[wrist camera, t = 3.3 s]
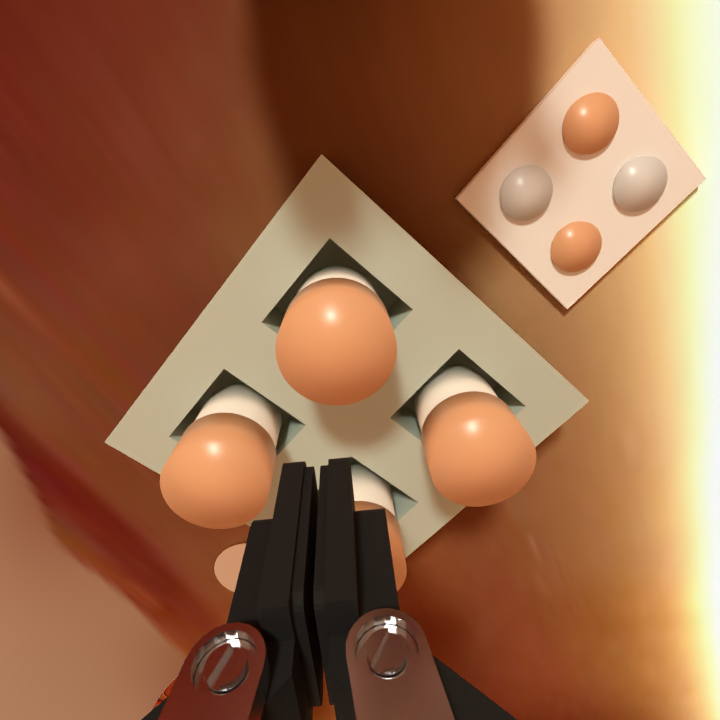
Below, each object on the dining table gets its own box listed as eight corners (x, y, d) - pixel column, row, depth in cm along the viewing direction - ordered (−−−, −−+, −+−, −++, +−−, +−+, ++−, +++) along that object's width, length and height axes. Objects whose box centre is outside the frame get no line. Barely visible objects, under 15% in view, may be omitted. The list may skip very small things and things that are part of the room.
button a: (511, 395, 30) (558, 458, 23) (451, 450, 31) (480, 522, 25) (453, 346, 28) (486, 398, 22) (393, 405, 30) (408, 471, 23)
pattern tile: (698, 178, 28) (709, 178, 27) (563, 306, 31) (569, 310, 30) (593, 40, 25) (602, 36, 24) (454, 198, 28) (458, 199, 27)
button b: (402, 303, 27) (422, 345, 20) (343, 367, 28) (344, 425, 22) (331, 242, 25) (327, 266, 19) (272, 313, 27) (251, 359, 20)
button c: (409, 488, 32) (426, 567, 26) (359, 534, 34) (364, 619, 28) (351, 448, 31) (354, 521, 24) (302, 498, 32) (292, 579, 26)
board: (554, 368, 33) (589, 401, 28) (362, 543, 39) (364, 592, 34) (324, 156, 27) (321, 153, 22) (137, 404, 33) (104, 442, 28)
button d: (301, 413, 30) (290, 481, 23) (252, 467, 31) (229, 544, 25) (231, 365, 28) (198, 423, 22) (183, 423, 30) (139, 494, 23)
